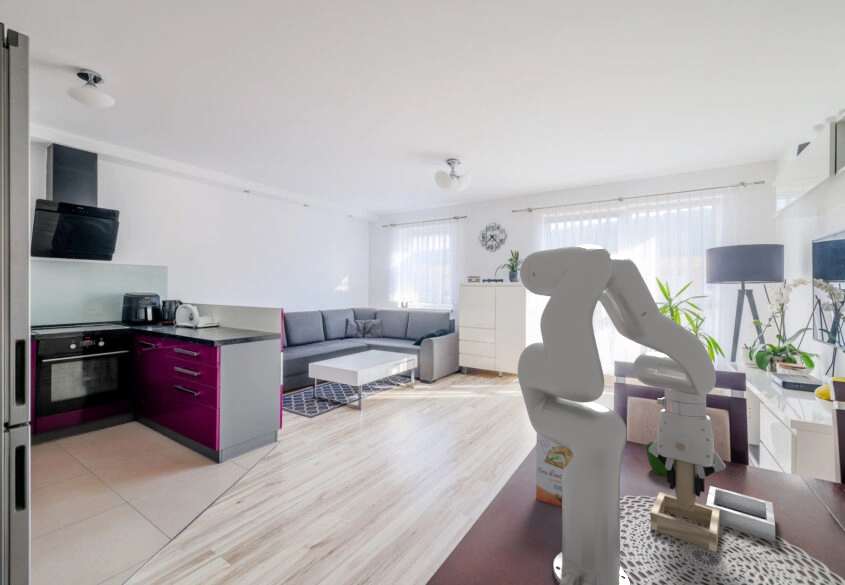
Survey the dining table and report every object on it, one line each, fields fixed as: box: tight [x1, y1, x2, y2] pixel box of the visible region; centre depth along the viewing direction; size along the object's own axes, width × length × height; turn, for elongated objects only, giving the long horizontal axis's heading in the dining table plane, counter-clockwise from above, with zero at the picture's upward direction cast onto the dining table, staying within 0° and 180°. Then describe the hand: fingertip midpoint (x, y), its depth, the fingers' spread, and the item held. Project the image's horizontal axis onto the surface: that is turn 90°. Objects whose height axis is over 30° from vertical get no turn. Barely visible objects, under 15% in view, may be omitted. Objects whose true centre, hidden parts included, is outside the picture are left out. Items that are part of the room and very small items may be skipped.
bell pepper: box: [646, 440, 676, 477], centre depth 108 cm, size 8×8×10 cm
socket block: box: [705, 485, 776, 543], centre depth 85 cm, size 11×11×4 cm
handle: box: [674, 443, 697, 512], centre depth 82 cm, size 5×6×15 cm
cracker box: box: [535, 432, 573, 508], centre depth 91 cm, size 14×6×21 cm, turn 60°
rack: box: [650, 491, 721, 553], centre depth 82 cm, size 11×11×4 cm
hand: (685, 489), depth 82 cm, fingers closed on handle, 4 cm apart
